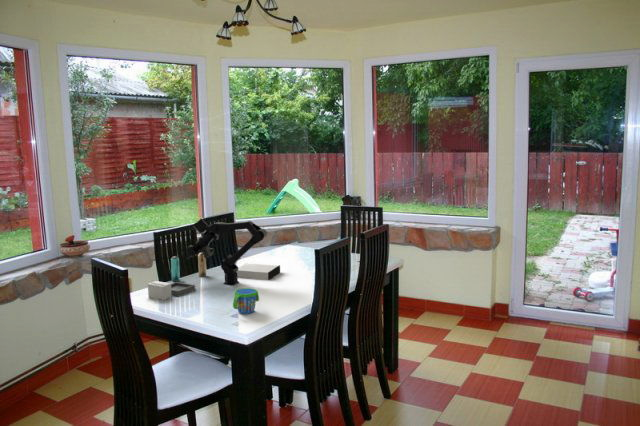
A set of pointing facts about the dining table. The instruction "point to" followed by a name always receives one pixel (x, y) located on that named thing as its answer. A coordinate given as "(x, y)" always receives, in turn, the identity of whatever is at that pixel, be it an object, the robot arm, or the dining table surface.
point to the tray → (181, 288)
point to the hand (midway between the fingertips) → (188, 257)
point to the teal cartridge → (175, 268)
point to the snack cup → (245, 300)
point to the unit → (159, 290)
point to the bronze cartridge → (202, 265)
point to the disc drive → (258, 271)
